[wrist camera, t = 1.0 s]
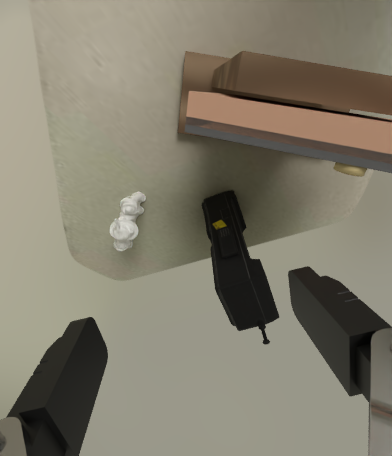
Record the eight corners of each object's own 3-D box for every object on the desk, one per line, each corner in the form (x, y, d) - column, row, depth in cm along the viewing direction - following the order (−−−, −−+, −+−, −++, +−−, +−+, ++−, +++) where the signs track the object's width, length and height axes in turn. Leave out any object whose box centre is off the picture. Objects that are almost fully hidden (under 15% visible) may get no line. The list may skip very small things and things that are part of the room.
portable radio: (198, 195, 44) (202, 304, 22) (231, 183, 43) (270, 285, 21) (213, 231, 47) (229, 355, 26) (243, 220, 46) (288, 341, 25)
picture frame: (232, 94, 30) (188, 90, 16) (445, 128, 25) (633, 163, 12) (227, 122, 31) (183, 141, 18) (427, 159, 27) (575, 221, 13)
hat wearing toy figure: (130, 176, 42) (109, 207, 32) (153, 183, 43) (140, 215, 32) (122, 222, 46) (101, 262, 36) (143, 227, 47) (129, 268, 36)
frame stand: (185, 52, 34) (174, 3, 13) (355, 80, 35) (576, 75, 15) (178, 131, 38) (161, 184, 18) (327, 152, 40) (465, 222, 20)
